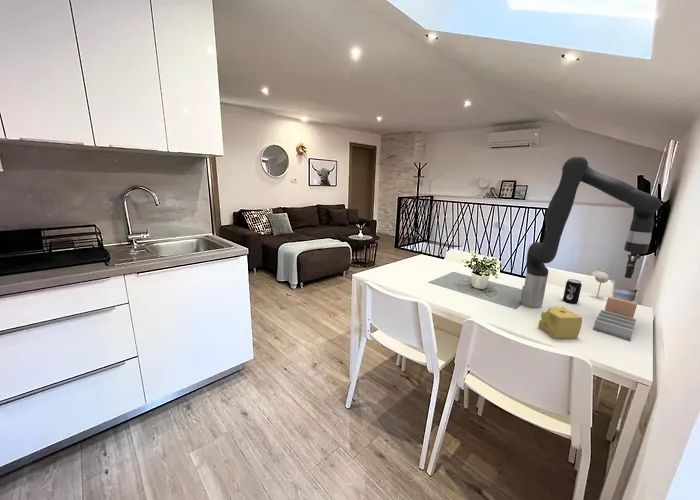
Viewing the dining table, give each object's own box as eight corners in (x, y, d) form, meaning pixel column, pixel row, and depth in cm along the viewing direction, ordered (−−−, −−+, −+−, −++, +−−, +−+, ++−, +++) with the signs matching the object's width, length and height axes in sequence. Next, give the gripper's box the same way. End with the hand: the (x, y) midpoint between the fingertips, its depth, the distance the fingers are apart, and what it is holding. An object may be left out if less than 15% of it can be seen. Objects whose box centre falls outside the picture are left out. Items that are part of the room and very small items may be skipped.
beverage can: (580, 304, 152) (585, 283, 149) (566, 303, 153) (570, 282, 150) (573, 299, 158) (578, 279, 155) (560, 298, 160) (564, 278, 157)
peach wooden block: (631, 324, 132) (637, 304, 129) (603, 316, 139) (607, 297, 137) (631, 322, 134) (637, 303, 131) (603, 315, 141) (608, 296, 138)
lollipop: (600, 300, 157) (606, 274, 154) (588, 296, 162) (593, 271, 159) (606, 298, 160) (612, 273, 156) (593, 294, 165) (599, 270, 161)
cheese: (537, 327, 129) (541, 306, 126) (559, 326, 130) (564, 306, 127) (555, 339, 119) (560, 318, 116) (579, 339, 119) (584, 317, 117)
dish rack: (630, 341, 118) (632, 331, 117) (592, 329, 127) (595, 320, 126) (633, 327, 129) (636, 318, 128) (599, 317, 138) (601, 309, 137)
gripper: (648, 245, 120) (638, 281, 124) (650, 240, 129) (641, 274, 133) (624, 242, 125) (615, 277, 129) (627, 237, 134) (619, 270, 138)
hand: (628, 275), depth 131 cm, fingers open, 8 cm apart
